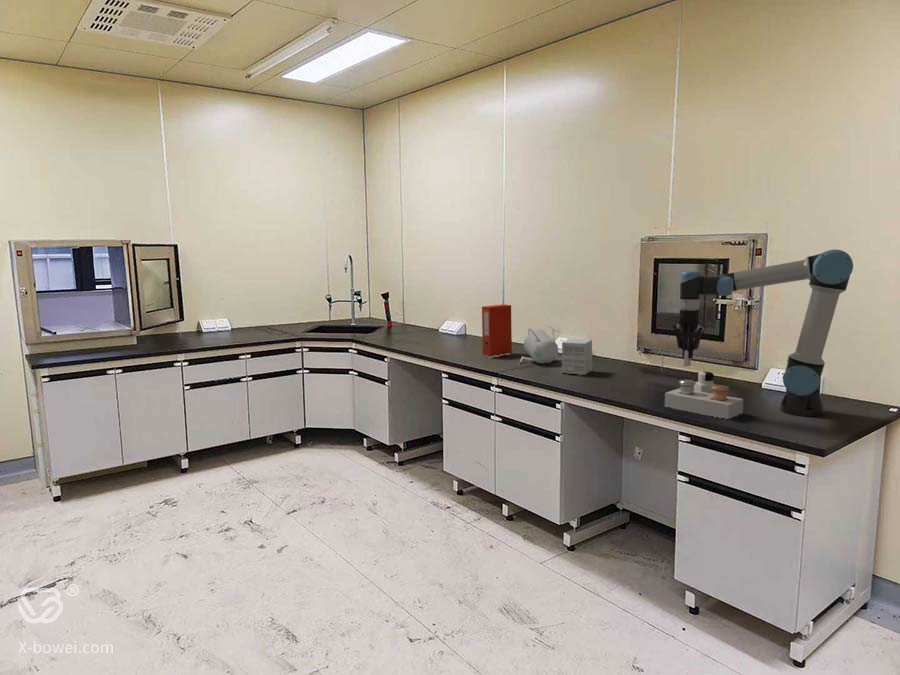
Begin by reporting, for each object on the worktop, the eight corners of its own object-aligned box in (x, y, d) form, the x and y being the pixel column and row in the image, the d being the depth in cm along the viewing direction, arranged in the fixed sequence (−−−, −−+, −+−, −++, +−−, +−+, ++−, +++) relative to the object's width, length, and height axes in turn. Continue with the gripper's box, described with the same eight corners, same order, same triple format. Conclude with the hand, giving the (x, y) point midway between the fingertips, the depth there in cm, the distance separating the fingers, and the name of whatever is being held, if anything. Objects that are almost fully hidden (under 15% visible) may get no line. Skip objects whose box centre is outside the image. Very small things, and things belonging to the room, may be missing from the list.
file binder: (512, 355, 378) (511, 305, 373) (490, 358, 369) (489, 307, 364) (504, 353, 385) (503, 304, 380) (482, 356, 376) (481, 306, 371)
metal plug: (698, 398, 248) (698, 381, 247) (690, 401, 244) (690, 383, 243) (683, 396, 253) (684, 378, 252) (675, 398, 249) (676, 381, 248)
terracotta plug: (731, 405, 237) (732, 386, 236) (723, 408, 233) (724, 389, 232) (715, 402, 242) (716, 384, 241) (707, 405, 238) (708, 386, 237)
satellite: (538, 339, 330) (575, 338, 341) (521, 322, 346) (557, 322, 356) (527, 373, 341) (563, 372, 351) (512, 355, 356) (546, 354, 367)
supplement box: (568, 369, 330) (568, 338, 327) (592, 371, 324) (592, 339, 321) (561, 374, 319) (561, 342, 316) (585, 376, 312) (585, 343, 310)
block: (742, 413, 237) (743, 399, 236) (727, 419, 229) (728, 404, 228) (680, 401, 258) (680, 387, 257) (664, 406, 250) (665, 392, 249)
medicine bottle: (709, 396, 264) (710, 370, 262) (717, 400, 257) (718, 373, 255) (693, 397, 264) (694, 370, 262) (700, 401, 257) (701, 374, 255)
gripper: (669, 309, 245) (668, 364, 249) (699, 311, 235) (697, 369, 239) (679, 307, 250) (677, 362, 254) (709, 309, 240) (707, 366, 244)
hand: (687, 365), depth 246 cm, fingers closed
